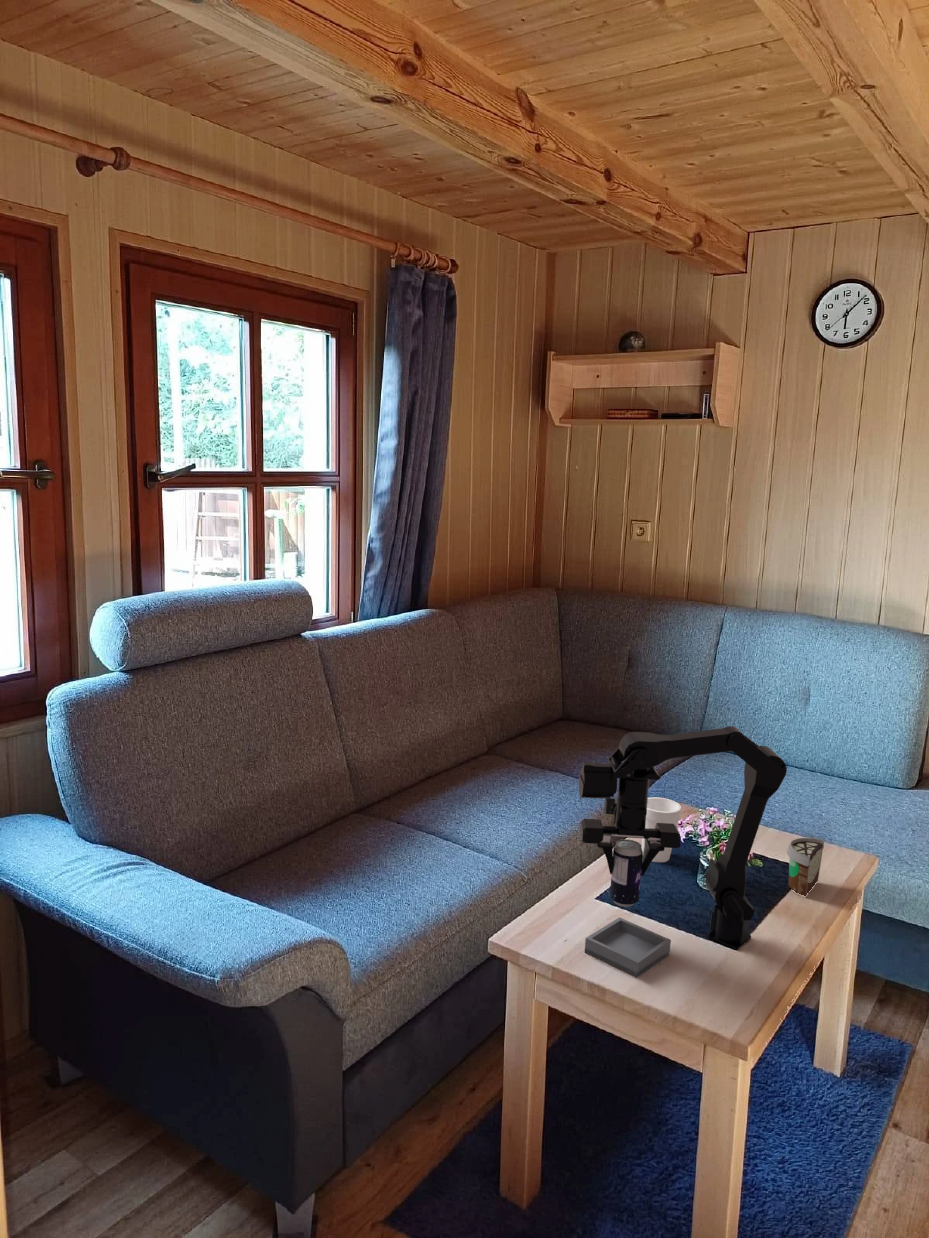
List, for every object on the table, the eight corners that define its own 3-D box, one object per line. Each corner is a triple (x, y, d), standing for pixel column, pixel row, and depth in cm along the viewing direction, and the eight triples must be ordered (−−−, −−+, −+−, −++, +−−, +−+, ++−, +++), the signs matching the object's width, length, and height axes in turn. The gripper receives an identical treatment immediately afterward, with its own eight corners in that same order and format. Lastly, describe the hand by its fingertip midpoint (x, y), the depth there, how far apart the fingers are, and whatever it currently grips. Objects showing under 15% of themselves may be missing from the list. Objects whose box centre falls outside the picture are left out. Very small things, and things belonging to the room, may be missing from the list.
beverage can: (637, 910, 179) (642, 852, 176) (608, 905, 180) (612, 848, 178) (639, 897, 184) (644, 840, 182) (610, 892, 185) (615, 836, 183)
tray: (669, 954, 177) (670, 939, 176) (636, 977, 168) (638, 962, 168) (618, 931, 184) (619, 917, 184) (584, 952, 176) (585, 937, 175)
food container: (792, 872, 215) (797, 832, 213) (819, 880, 211) (824, 839, 209) (775, 891, 205) (780, 849, 203) (803, 900, 201) (809, 857, 199)
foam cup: (629, 857, 218) (634, 805, 216) (644, 844, 226) (649, 794, 224) (667, 868, 213) (672, 815, 211) (682, 855, 221) (687, 804, 218)
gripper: (673, 786, 186) (667, 858, 188) (580, 781, 186) (575, 853, 189) (684, 807, 175) (677, 884, 178) (585, 802, 175) (579, 878, 178)
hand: (626, 873), depth 181 cm, fingers closed on beverage can, 6 cm apart
